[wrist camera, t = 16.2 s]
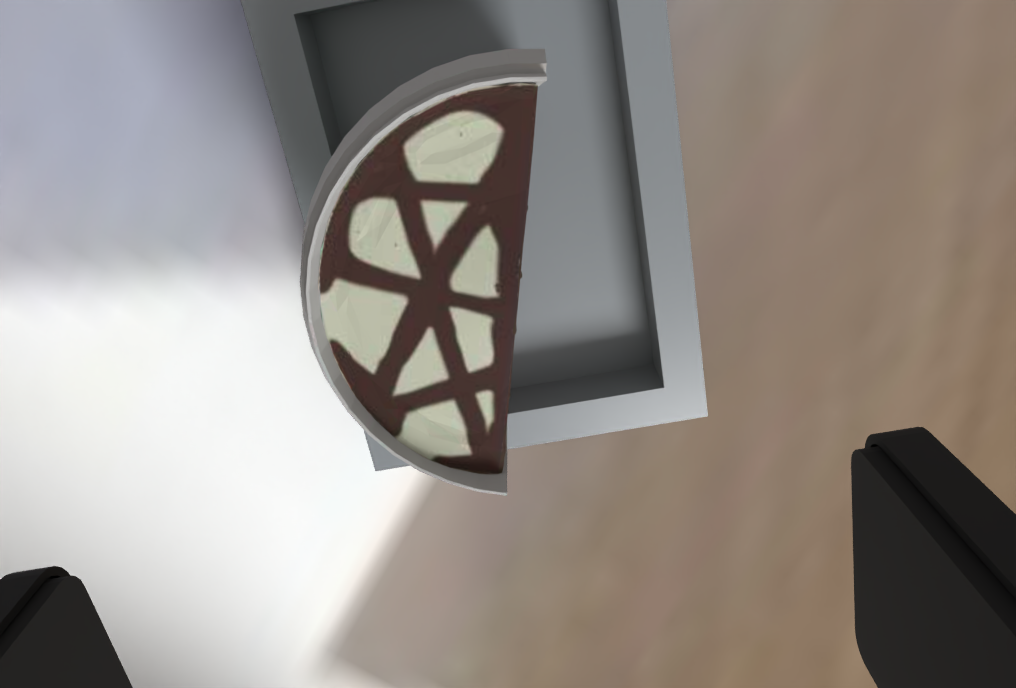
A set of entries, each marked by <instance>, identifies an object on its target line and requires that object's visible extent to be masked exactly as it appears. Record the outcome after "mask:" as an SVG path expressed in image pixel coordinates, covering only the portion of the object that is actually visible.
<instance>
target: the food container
mask: <svg viewBox="0 0 1016 688" xmlns="http://www.w3.org/2000/svg"><path fill="white" fill-rule="evenodd" d="M546 65H547V62H546V54H545V49H505V50H499V51H493V52H487V53H481V54H475V55H469V56H466V57H463V58H460V59H458V60H455V61H452V62H449V63H446V64H443V65H440V66H437V67H434V68H432V69H430V70H428V71H426V72H424V73H423V74H421V75H419V76H417V77H415V78H413V79H412V80H410V81H408V82H406V83H404V84H402V85H400V86H399V87H397V88H396V89H395V90H394V91H392V92H391V93H390V94H389V95H387V96H386V97H385V98H383V99H382V100H381V101H380V102H378V103H377V104H376V105H374V106H373V107H372V108H371V109H369V110H368V112H367V113H366V114H365V115H364V116H363V117H362V118H361V119H360V120H359V121H358V123H357V124H356V125H355V126H354V127H353V128H352V129H351V130H350V131H349V132H348V133H347V135H346V136H345V137H344V138H343V140H342V141H341V143H340V145H339V146H338V148H337V149H336V151H335V152H334V154H333V155H332V157H331V159H330V160H329V162H328V163H327V165H326V166H325V168H324V171H323V173H322V175H321V178H320V180H319V182H318V185H317V187H316V190H315V192H314V194H313V197H312V199H311V203H310V207H309V211H308V215H307V219H306V224H305V228H304V232H303V244H302V260H301V276H300V287H301V297H302V307H303V316H304V320H305V324H306V328H307V331H308V335H309V339H310V343H311V347H312V349H313V351H314V354H315V356H316V358H317V360H318V363H319V365H320V367H321V369H322V372H323V374H324V376H325V378H326V380H327V381H328V383H329V384H330V386H331V387H332V389H333V390H334V392H335V393H336V395H337V396H338V398H339V400H340V401H341V403H342V404H343V405H344V407H345V408H346V410H347V411H348V412H349V413H350V415H351V416H352V417H353V418H354V419H355V420H356V421H357V422H358V424H359V425H360V426H361V427H362V428H363V429H364V430H365V431H366V432H367V434H368V435H369V436H371V437H372V438H373V439H374V440H375V441H377V442H378V443H379V444H380V445H382V446H383V447H384V448H385V449H386V450H388V451H389V452H390V453H391V454H392V455H394V456H396V457H397V458H399V459H400V460H402V461H404V462H405V463H407V464H409V465H410V466H412V467H414V468H415V469H417V470H419V471H420V472H423V473H425V474H427V475H430V476H432V477H434V478H437V479H439V480H441V481H444V482H446V483H448V484H452V485H456V486H459V487H463V488H466V489H470V490H474V491H477V492H483V493H491V494H498V495H505V496H507V417H508V412H509V410H508V407H509V399H510V396H511V393H510V387H511V374H512V362H513V351H514V340H515V334H516V332H517V327H516V320H517V310H518V300H519V288H520V279H521V278H522V272H521V265H522V253H523V243H524V234H525V225H526V215H527V211H528V196H529V185H530V175H531V164H532V153H533V142H534V131H535V118H536V105H537V92H538V86H540V85H541V84H542V83H544V82H545V81H547V75H546Z"/></svg>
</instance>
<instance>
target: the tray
mask: <svg viewBox="0 0 1016 688" xmlns="http://www.w3.org/2000/svg"><path fill="white" fill-rule="evenodd" d="M241 3H242V7H243V10H244V14H245V17H246V21H247V24H248V28H249V31H250V35H251V38H252V42H253V45H254V49H255V52H256V56H257V59H258V63H259V66H260V70H261V73H262V77H263V80H264V83H265V87H266V90H267V94H268V97H269V101H270V104H271V108H272V111H273V115H274V118H275V122H276V125H277V129H278V132H279V136H280V139H281V143H282V146H283V150H284V153H285V157H286V160H287V164H288V167H289V171H290V174H291V178H292V181H293V185H294V188H295V192H296V195H297V199H298V202H299V206H300V209H301V213H302V216H303V220H304V223H305V224H306V219H307V215H308V211H309V207H310V203H311V199H312V197H313V194H314V192H315V190H316V187H317V185H318V182H319V180H320V178H321V175H322V173H323V171H324V168H325V166H326V165H327V163H328V162H329V160H330V159H331V157H332V155H333V154H334V152H335V151H336V149H337V148H338V146H339V145H340V143H341V141H342V140H343V138H344V137H345V136H346V135H347V133H348V132H349V131H350V130H351V129H352V128H353V127H354V126H355V125H356V124H357V123H358V121H359V120H360V119H361V118H362V117H363V116H364V115H365V114H366V113H367V112H368V110H369V109H371V108H372V107H373V106H374V105H376V104H377V103H378V102H380V101H381V100H382V99H383V98H385V97H386V96H387V95H389V94H390V93H391V92H392V91H394V90H395V89H396V88H397V87H399V86H400V85H402V84H404V83H406V82H408V81H410V80H412V79H413V78H415V77H417V76H419V75H421V74H423V73H424V72H426V71H428V70H430V69H432V68H434V67H437V66H440V65H443V64H446V63H449V62H452V61H455V60H458V59H460V58H463V57H466V56H469V55H475V54H481V53H487V52H493V51H499V50H505V49H545V54H546V62H547V65H546V75H547V81H545V82H544V83H542V84H541V85H540V86H538V92H537V105H536V118H535V131H534V142H533V153H532V164H531V175H530V185H529V196H528V211H527V215H526V225H525V234H524V243H523V253H522V265H521V272H522V278H521V279H520V288H519V300H518V310H517V320H516V327H517V332H516V334H515V340H514V351H513V362H512V374H511V387H510V393H511V396H510V399H509V407H508V410H509V412H508V417H507V449H513V448H519V447H525V446H531V445H537V444H543V443H549V442H555V441H561V440H567V439H573V438H579V437H585V436H591V435H597V434H603V433H609V432H615V431H621V430H627V429H633V428H639V427H645V426H651V425H657V424H664V423H670V422H676V421H682V420H688V419H694V418H700V417H706V416H708V412H707V403H706V393H705V383H704V373H703V363H702V353H701V343H700V333H699V323H698V313H697V303H696V293H695V283H694V273H693V263H692V253H691V243H690V233H689V223H688V213H687V203H686V193H685V183H684V174H683V164H682V154H681V144H680V134H679V124H678V114H677V104H676V94H675V84H674V74H673V64H672V54H671V44H670V34H669V24H668V14H667V4H666V0H241ZM364 433H365V436H366V440H367V443H368V447H369V450H370V454H371V457H372V461H373V464H374V467H375V471H380V470H386V469H392V468H398V467H404V466H410V465H409V464H407V463H405V462H404V461H402V460H400V459H399V458H397V457H396V456H394V455H392V454H391V453H390V452H389V451H388V450H386V449H385V448H384V447H383V446H382V445H380V444H379V443H378V442H377V441H375V440H374V439H373V438H372V437H371V436H369V435H368V434H367V432H366V431H365V430H364Z"/></svg>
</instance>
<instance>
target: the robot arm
mask: <svg viewBox="0 0 1016 688" xmlns="http://www.w3.org/2000/svg"><path fill="white" fill-rule="evenodd" d="M851 475H852V517H853V559H854V601H855V633H856V639H857V644H858V648H859V651H860V654H861V657H862V659H863V661H864V663H865V665H866V667H867V669H868V671H869V673H870V674H871V676H872V678H873V680H874V681H875V683H876V685H877V687H878V688H1016V514H1015V513H1014V512H1013V511H1012V510H1010V509H1009V508H1008V507H1007V506H1006V505H1005V504H1004V503H1003V502H1002V501H1001V500H1000V499H999V498H998V497H997V496H996V495H995V494H994V493H993V492H992V491H991V490H990V489H989V488H987V487H986V486H985V485H984V484H983V483H982V482H981V481H980V480H979V479H978V478H977V477H976V476H975V475H974V474H973V473H972V472H971V471H970V470H969V469H968V468H967V467H966V466H964V465H963V464H962V463H961V462H960V461H959V460H958V459H957V458H956V457H955V456H954V455H953V454H952V453H951V452H950V451H949V450H948V449H947V448H946V447H945V446H944V445H943V444H942V443H940V442H939V441H938V440H937V439H936V438H935V437H934V436H933V435H932V434H931V433H930V432H929V431H928V430H926V429H925V428H923V427H914V428H908V429H902V430H896V431H890V432H883V433H877V434H871V435H870V436H869V437H868V438H867V440H866V443H865V448H864V449H858V450H855V451H854V452H853V454H852V459H851ZM0 688H132V685H131V683H130V681H129V679H128V677H127V675H126V673H125V671H124V669H123V666H122V664H121V662H120V660H119V658H118V656H117V654H116V652H115V649H114V647H113V645H112V643H111V641H110V639H109V637H108V635H107V633H106V630H105V628H104V626H103V624H102V622H101V620H100V618H99V616H98V613H97V611H96V609H95V607H94V605H93V603H92V601H91V599H90V596H89V594H88V592H87V590H86V588H85V586H84V584H83V583H82V581H81V580H80V579H79V578H77V577H76V576H70V575H69V573H68V572H67V571H66V570H64V569H63V568H62V567H56V566H53V567H47V568H40V569H34V570H28V571H22V572H16V573H11V574H8V575H5V576H4V577H3V578H2V579H0Z"/></svg>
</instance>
